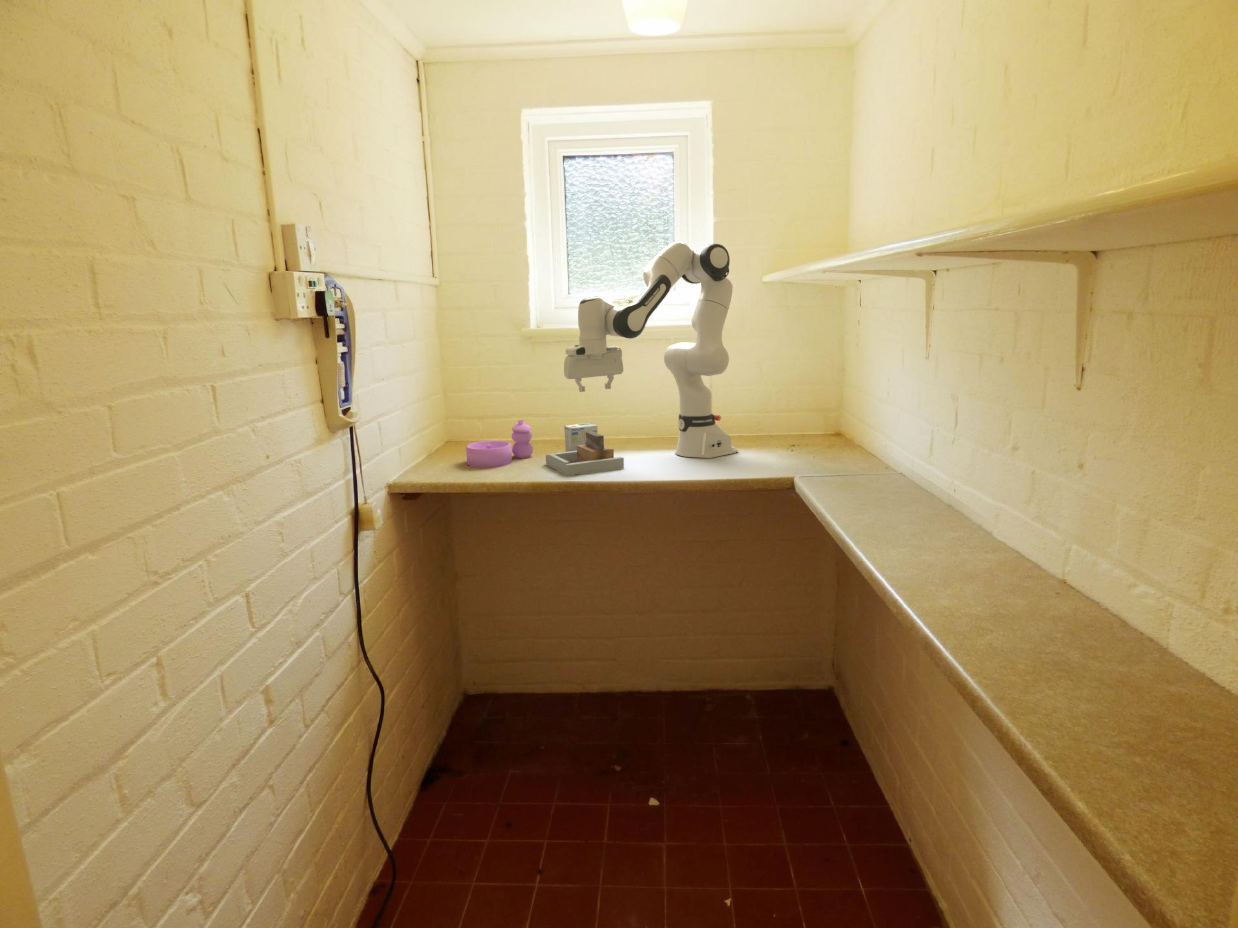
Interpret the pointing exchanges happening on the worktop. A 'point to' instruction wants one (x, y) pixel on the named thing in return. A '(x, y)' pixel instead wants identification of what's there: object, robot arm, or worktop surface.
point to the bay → (581, 463)
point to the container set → (500, 449)
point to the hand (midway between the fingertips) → (595, 390)
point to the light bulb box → (577, 435)
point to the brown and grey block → (594, 448)
